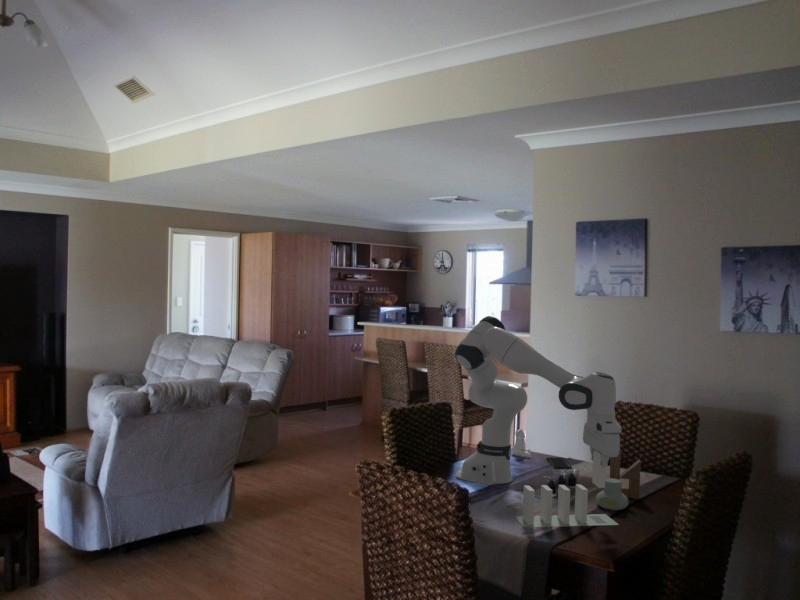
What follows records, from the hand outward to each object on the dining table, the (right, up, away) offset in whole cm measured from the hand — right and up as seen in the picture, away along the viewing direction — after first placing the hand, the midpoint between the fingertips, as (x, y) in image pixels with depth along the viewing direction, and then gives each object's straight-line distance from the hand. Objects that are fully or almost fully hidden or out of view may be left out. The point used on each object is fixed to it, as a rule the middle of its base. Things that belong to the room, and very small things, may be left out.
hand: (599, 463), depth 224 cm
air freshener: (+9, -20, +15) cm, 27 cm away
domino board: (-11, -19, -1) cm, 22 cm away
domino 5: (0, -7, 0) cm, 7 cm away
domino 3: (-12, -18, -1) cm, 22 cm away
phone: (+4, -18, +72) cm, 75 cm away
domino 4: (-6, -19, 0) cm, 20 cm away
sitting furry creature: (-11, -17, +85) cm, 88 cm away
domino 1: (-24, -18, -3) cm, 30 cm away
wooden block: (+18, -20, +29) cm, 39 cm away
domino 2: (-18, -18, -2) cm, 26 cm away
